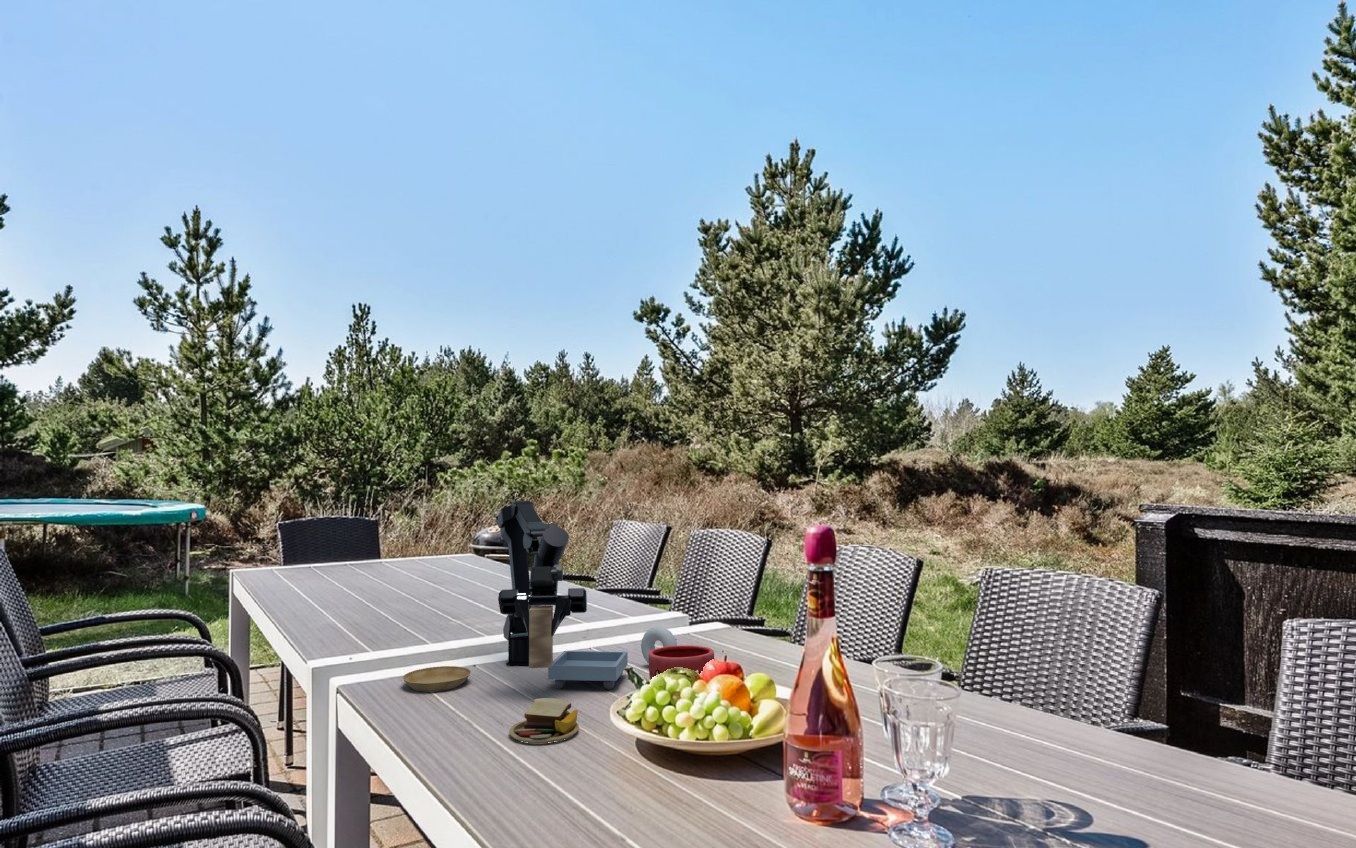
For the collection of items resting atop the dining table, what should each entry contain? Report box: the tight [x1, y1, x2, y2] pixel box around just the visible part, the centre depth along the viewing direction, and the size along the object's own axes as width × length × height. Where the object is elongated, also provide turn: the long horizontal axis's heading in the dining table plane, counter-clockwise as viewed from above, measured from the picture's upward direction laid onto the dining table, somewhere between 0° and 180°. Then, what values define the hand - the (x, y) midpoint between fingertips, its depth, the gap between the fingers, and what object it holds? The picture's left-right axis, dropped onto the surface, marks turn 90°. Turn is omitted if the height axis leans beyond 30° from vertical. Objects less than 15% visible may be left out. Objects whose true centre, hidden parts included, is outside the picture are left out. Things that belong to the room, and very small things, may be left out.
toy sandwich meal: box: [508, 697, 580, 743], centre depth 141 cm, size 12×14×5 cm
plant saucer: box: [402, 665, 472, 693], centre depth 174 cm, size 15×15×3 cm
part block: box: [528, 605, 554, 669], centre depth 163 cm, size 4×4×12 cm
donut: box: [640, 625, 678, 665], centre depth 186 cm, size 10×3×10 cm, turn 57°
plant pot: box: [648, 644, 715, 680], centre depth 153 cm, size 13×13×12 cm
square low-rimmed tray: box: [547, 650, 629, 691], centre depth 174 cm, size 15×14×5 cm
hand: (540, 635), depth 162 cm, fingers closed on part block, 4 cm apart
